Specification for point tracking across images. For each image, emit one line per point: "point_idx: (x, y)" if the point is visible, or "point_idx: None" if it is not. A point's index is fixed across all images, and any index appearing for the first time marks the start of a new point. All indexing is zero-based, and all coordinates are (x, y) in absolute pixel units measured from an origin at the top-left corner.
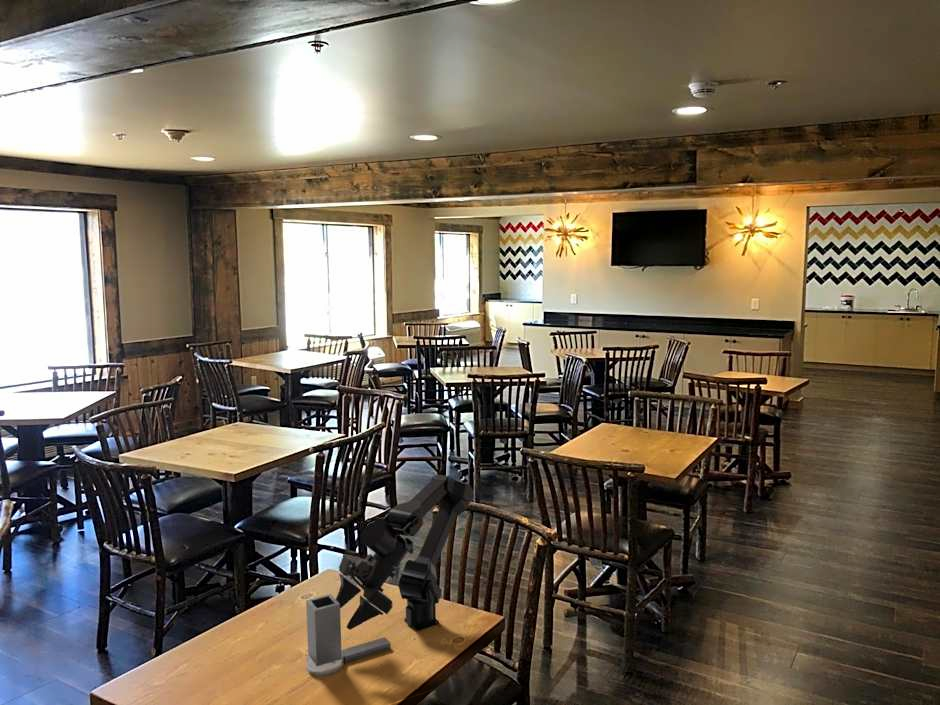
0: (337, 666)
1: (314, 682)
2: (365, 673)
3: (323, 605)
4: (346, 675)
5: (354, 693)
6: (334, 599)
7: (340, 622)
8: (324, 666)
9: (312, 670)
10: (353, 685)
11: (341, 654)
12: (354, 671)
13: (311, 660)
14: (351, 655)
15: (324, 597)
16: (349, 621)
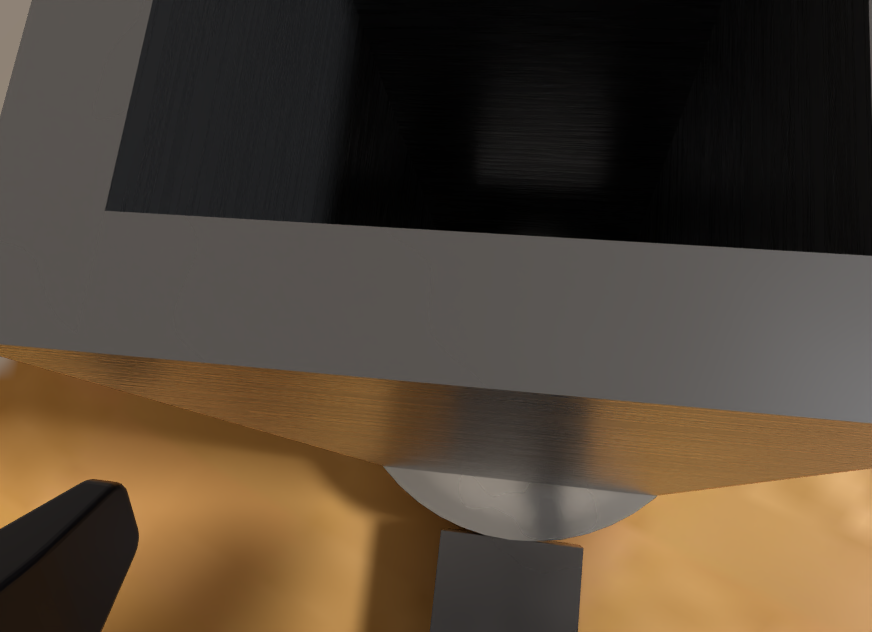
0: None
1: None
2: (203, 603)
3: (769, 178)
4: (286, 452)
5: (41, 387)
6: (424, 338)
7: (231, 421)
8: None
9: None
10: (130, 431)
11: (376, 463)
12: (293, 539)
13: None
14: (434, 606)
15: (864, 79)
16: (33, 543)
